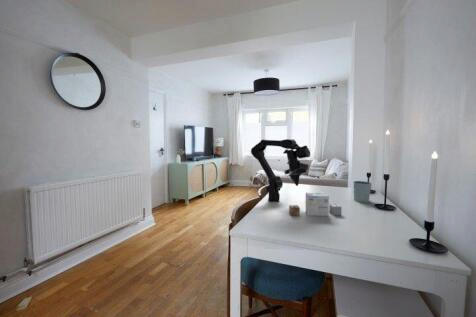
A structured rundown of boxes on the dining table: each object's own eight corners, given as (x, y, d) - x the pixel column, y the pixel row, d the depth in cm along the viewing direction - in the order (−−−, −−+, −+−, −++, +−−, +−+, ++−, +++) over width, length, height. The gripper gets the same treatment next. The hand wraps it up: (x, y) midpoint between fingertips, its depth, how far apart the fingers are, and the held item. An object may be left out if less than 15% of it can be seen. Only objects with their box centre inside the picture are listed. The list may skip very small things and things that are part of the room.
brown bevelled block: (290, 216, 111) (290, 206, 110) (289, 213, 115) (289, 204, 115) (299, 216, 110) (299, 207, 110) (297, 213, 115) (297, 204, 114)
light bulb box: (325, 212, 117) (325, 192, 116) (329, 216, 110) (329, 195, 109) (304, 211, 118) (305, 192, 117) (307, 215, 111) (307, 195, 110)
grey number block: (332, 215, 112) (332, 205, 112) (329, 212, 117) (329, 203, 116) (341, 215, 112) (341, 206, 112) (337, 212, 117) (338, 203, 116)
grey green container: (349, 199, 142) (350, 181, 141) (359, 197, 146) (360, 180, 145) (363, 203, 133) (364, 184, 132) (374, 201, 137) (375, 182, 136)
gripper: (312, 156, 122) (317, 184, 121) (298, 159, 140) (302, 183, 139) (294, 159, 120) (299, 187, 119) (282, 161, 138) (286, 185, 137)
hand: (297, 185), depth 128 cm, fingers closed
